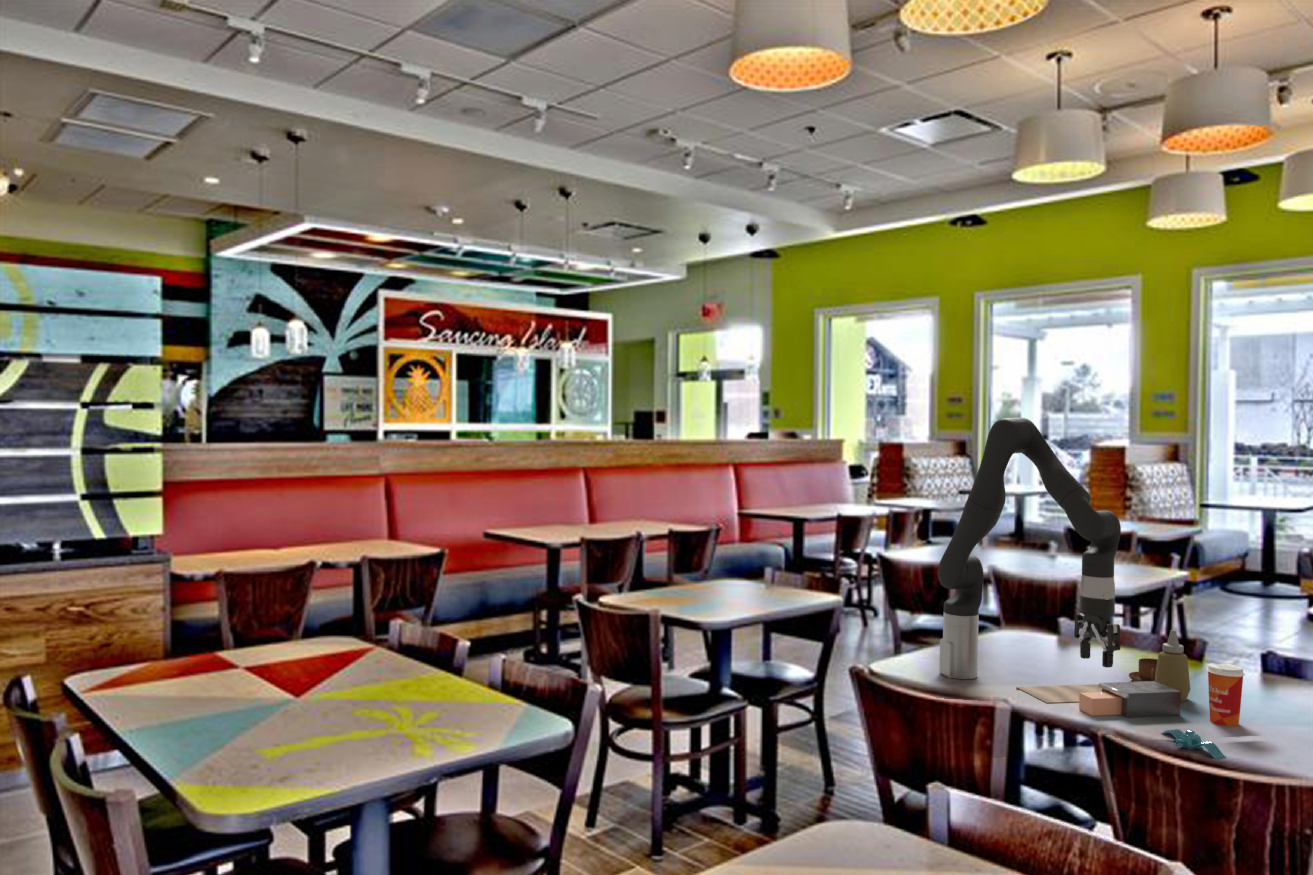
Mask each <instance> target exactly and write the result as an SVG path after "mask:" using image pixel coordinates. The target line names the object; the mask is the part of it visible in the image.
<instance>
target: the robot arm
mask: <svg viewBox="0 0 1313 875" xmlns="http://www.w3.org/2000/svg"><path fill="white" fill-rule="evenodd" d="M1013 454H1023V455H1024V456H1025V457H1026V458H1028V460H1030V461H1031V462H1032V463H1033V464H1034V465H1035V467H1036V469H1037V471H1038V472H1039V475H1040V479H1041V481H1042V484H1043V486H1044V488H1045V491H1046V492H1047V493H1048V494H1049V495H1050V497H1051V498H1052V499H1053V500H1054V501H1055V502H1056V503H1057V505H1058V506H1060V507H1061V510H1063V511H1064V512H1065V514H1066V517H1067V519H1068V520H1069V522H1070V523H1071V525H1072V527H1073V529H1074V530H1075V532H1077V534H1079V536H1081V537H1082V538H1083V539H1084V540H1087V541H1090V545H1089V548H1088V549H1087V550H1085V551H1084V552H1083V554H1082V556H1081V578H1080V584H1079V585H1080V586H1079V589H1080V590H1079V591H1080V592H1079V593H1080V594H1079V613H1076V614H1075V615H1074V632H1073V636H1074V639H1077V640H1078V642H1079V643H1080V646H1079V647H1080V650H1079V654H1080V655H1079V657H1080V658H1081V659H1085V660H1086V659H1087V660H1088V659H1091V641H1092V639H1093V638H1094V639H1096V641H1097V643H1098V644H1100V646H1101V648H1102V654H1101V655H1102V657H1101V658H1102V661H1101V662H1102V667H1103V668H1112V667H1113V664H1114V652H1116V651H1121V625H1120V624H1118V623H1115V624H1114V623H1111V617H1114V616H1115V609H1116V608H1115V605H1116V598H1115V597H1116V582H1115V557H1116V554H1117V551H1118V547H1119V543H1120V539H1121V535H1122V534H1121V533H1122V532H1121V531H1122V526H1121V521H1120V519H1119V517H1118V516H1117V515H1116V514H1115V513H1114V512H1113V511H1110V510H1095V509H1094V508H1093V507H1092V505H1091V504H1090V503H1091V501H1092V500H1091V498H1092V497H1091V495H1090V493H1089V492H1088V490H1086V488H1085V487H1084V486H1083V485H1082V484H1081V483H1080V482H1079V481H1078V480H1077V479H1076V478H1075V477H1074V476H1073V475H1072V473H1070V471H1068V469H1067V468H1066V467H1065V466H1064V464H1063V463H1062V462H1061V460H1060V459H1059V458H1058V456H1057V455H1056V453H1055V452H1054V451H1053V449H1052V448H1051V446H1050V445H1049V444H1048V442H1047V441H1046V438H1044V436H1043V435H1042V432H1040V430H1039V428H1038V427H1037V426H1036V424H1034V422H1033V421H1031V419H1029V418H1027V417H1020V416H1019V417H1004V418H1000V419H997V420H996V421H994V423H993V424H992V426H991V427H990V429H989V432H988V435H987V438H986V442H985V446H984V450H983V455H982V458H981V461H980V464H979V468H978V470H977V473H976V476H975V478H974V481H973V485H972V487H971V489H970V491H969V494H968V496H967V500H966V502H965V504H964V507H963V509H962V510H963V511H962V513H961V516H960V519H959V521H958V524H957V526H956V527H955V531H954V533H953V535H952V537H951V539H950V542H949V543H948V544H947V547H946V549H945V551H944V553H943V555H942V557H941V559H940V561H939V564H938V569H937V578H938V581H939V584H940V585H941V586H942V587H944V588H945V589H948V590H956V592H955V593H954V594H953V595H952V596H951V597H950V598H948V599H947V600H945V601H944V603H943V624H942V625H943V628H942V638H940V639H939V673H940V674H941V675H943V676H946V677H947V678H948V679H959V680H960V679H961V680H971V679H976V678H977V677H978V670H979V669H978V667H979V666H978V665H979V664H978V663H979V661H978V660H979V658H978V655H979V653H978V652H979V620H980V619H979V615H980V614H979V613H980V607H981V605H982V602H983V601H982V599H983V589H984V587H983V586H984V569H983V564H982V562H981V560H980V559H979V557H977V556H976V555H973V554H972V552H973V550H974V549H975V547H977V545H978V544H979V543H980V542H981V541H982V540H983V539H984V538H985V537H986V536H987V535H988V534H989V533H990V532H991V531H992V530H993V528H994V527H995V526H996V525H997V523H998V521H999V519H1000V517H1001V514H1002V512H1003V510H1004V508H1005V503H1006V500H1007V499H1006V496H1007V495H1006V487H1005V473H1006V470H1007V466H1008V464H1009V462H1010V459H1011V458H1012V456H1013ZM1080 629H1081V630H1080ZM1113 641H1115V643H1114V642H1113Z"/></svg>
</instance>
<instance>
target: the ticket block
mask: <svg viewBox="0 0 1313 875" xmlns="http://www.w3.org/2000/svg"><path fill="white" fill-rule="evenodd" d="M1078 709H1079V711H1081V712H1084V713H1086V714H1088V715H1090V716H1092V717H1093V716H1118V715H1119V716H1122V715H1121V714H1122V697H1120V696H1118V695H1116V694H1114V693H1111V692H1088V693H1079V702H1078Z"/></svg>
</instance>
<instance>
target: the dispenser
mask: <svg viewBox="0 0 1313 875" xmlns="http://www.w3.org/2000/svg"><path fill="white" fill-rule="evenodd" d="M1097 684H1098V686H1099V687H1100V688H1102V692H1111V693H1114V694H1116V695H1118V696H1120V697H1122V714H1121V715H1120V716H1123V717H1124V718H1127V719H1135V718H1137V719H1138V718H1160V717H1181V716H1182V715H1181V701H1180V700H1181V692H1180V691H1178V690H1175V689H1173V688H1170V687H1167V686H1165V685H1162V684H1160V683H1157V682H1155V681H1142V682H1135V681H1119V682H1118V681H1117V682H1116V681H1115V682H1114V681H1113V682H1099V683H1097Z"/></svg>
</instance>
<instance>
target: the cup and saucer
mask: <svg viewBox="0 0 1313 875" xmlns="http://www.w3.org/2000/svg"><path fill="white" fill-rule="evenodd" d="M1157 661H1158V658H1157V659H1156V658H1149V657H1148V658H1143V657H1142V658H1139V659H1138V671H1131V672H1130V673H1128V677H1129V678H1130V679H1131V681H1132V682H1142V681H1155V675H1156V668H1157Z"/></svg>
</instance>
